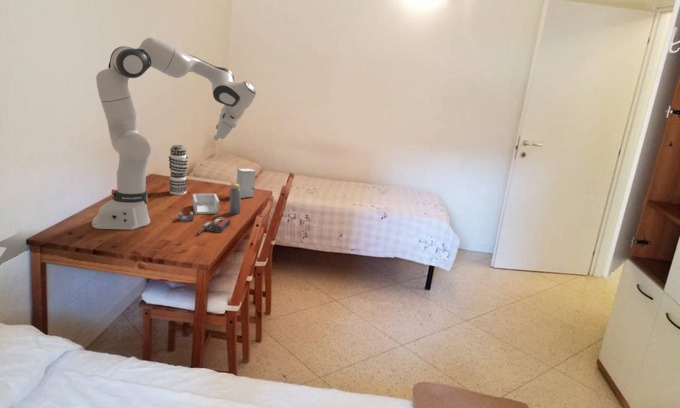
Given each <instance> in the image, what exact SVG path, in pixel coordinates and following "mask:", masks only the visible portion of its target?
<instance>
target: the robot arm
mask: <svg viewBox="0 0 680 408" xmlns="http://www.w3.org/2000/svg"><path fill="white" fill-rule="evenodd" d="M107 67H108V68H105V69H102V70H100V71H99V72H98V73H97V74H96V77H95V79H96V81H95V82H96V87H97V92H98V95H99V100H100V103H101V106H102V109H103V113H104V115H105V117H106V118H105V119H106V122H107V126H108V133H109V137H110V141H111V145H112V148H113V149H114V151H115V152H117V154H118V155H119V157H118V158H119V161H118V162H119V163H118V168H117V170H116V188H113V189H111V200H109V201H107V202H106V203H105V204H103V205H102V206H101V207H100V208H98V209H99V210H98V212H97V215H96V216H95V217H94V218H93V219H92V221H91V226H92V227H93V229H96V230H97V229H98V230H128V231H129V230H131V231H132V230H136V229H138V228H142V227H145V226H148V225H149V224H151V219H150V216H149V212H148V207H147V206H148V205H147V204H148V191H147V188H146V187H147V186H146V185H147V181H146V180H147V179H146V177H147V176H146V175H147V165H148V160H149V157H150V154H151V150H152V149H151V145H150V144H149V141H148V140H147V139H146V138H145V137H144V136H142V135H141V134H140V133H139V130H138V125H137V113H136V109H135V106H134V103H133V99H132V95H131V93H130V89H129V79H136V78H139V77H142V76H143V74H145V72H146V71H147V70H148V69H149V68H153V69H156V70H158V72H161V73H163V74H165V75H167V76H168V77H171V78H175V79H179V78H183V77H184V76H186V75H187V74H188V73H190V72H191V73H194V74H197V75H199V76H201V77H203V78H206V79H207V80H208V81H209V82H210V84H211V87H212V88H211V90H212V96H213V98H214V100H215V101H216V102H217V103H219V104H221V105H223V107H222V108H221V109H220V111H221V112H220V115H219V117H218V118H219V120H218V123H216V126H215V129H216V134H215V135H214V136H213V140H214V141H215V142H217V141H219V139H221V140H224V139H225V138H227V136H228V135H229V134H230V133H231V131H232V130H233V128H234V129H235V128H236V127H237V125H238V123H239V121H240V119H241V117H242V116H243V115H244V113H245V111H246V110H247V109H248V108H249V107H250V106H251V104H252V103H253V101H254V99H255V98H256V95H257V93H256V92H257V91H256V89H255V87H254V86H253V85H252V84H251V83H250V82H249V81H247V80H244V81H237V82H236V81H235V76H234V74H233V72H232V71H231V69H228V68H225V67H221V66H217V65H213V64H211V63H209V62H207V61H205V60H203V59H200V58H199V57H196V56H195V55H192V54H189V53H186V52H183V51H181V50H179V49H178V48H176V47H174V46H172V45H170V44H168V43H166V42H165V41H163V40H159V39H157V38H154V37H147V38H146V39H145V38H144V40H143V41H142V42H141V44H140V46H138V47H137V48H134V47H130V46H126V45H125V46H124V45H123V46H119V47H116V48H115V49H114V50H113V51H112V53H111V55H110V58H109V63H108V66H107Z"/></svg>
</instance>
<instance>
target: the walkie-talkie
mask: <svg viewBox="0 0 680 408" xmlns="http://www.w3.org/2000/svg"><path fill="white" fill-rule="evenodd" d="M230 225H231V219H230V218H229V217H222V216H219V217H216V218H215V219H213V220H212V221H208V222H206V223H204V224H203V225H202V228H201V229H199V230H198V231H197V232H196V234H197V235H200V234H201V233H203V232H205V231H208V230H210V232H216V233H222V232H224V231H225V230H226V229H227V228H228V227H229V226H230ZM227 226H228V227H227ZM226 227H227V228H226ZM225 228H226V229H225ZM205 229H206V230H205ZM224 229H225V230H224ZM211 230H212V231H211ZM223 230H224V231H223ZM218 231H220V232H218ZM221 231H222V232H221Z"/></svg>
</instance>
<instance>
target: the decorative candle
mask: <svg viewBox="0 0 680 408" xmlns="http://www.w3.org/2000/svg"><path fill="white" fill-rule="evenodd" d="M169 149H170V154H169V156H168V162H169V167H168V168H169V171H170V176H169V186H168V187H169V193H170V194H172V195H175V196H176V195H178V196H180V195H181V196H182V195H185V194H187V175H186V173H187V172H188V171H187V168H188V167H187V165H188V160H187V159H188V156H187V153H186V152H187V148H186V147H185V146H184V145H181V144H174V145H172V146H171V147H170V148H169Z"/></svg>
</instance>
